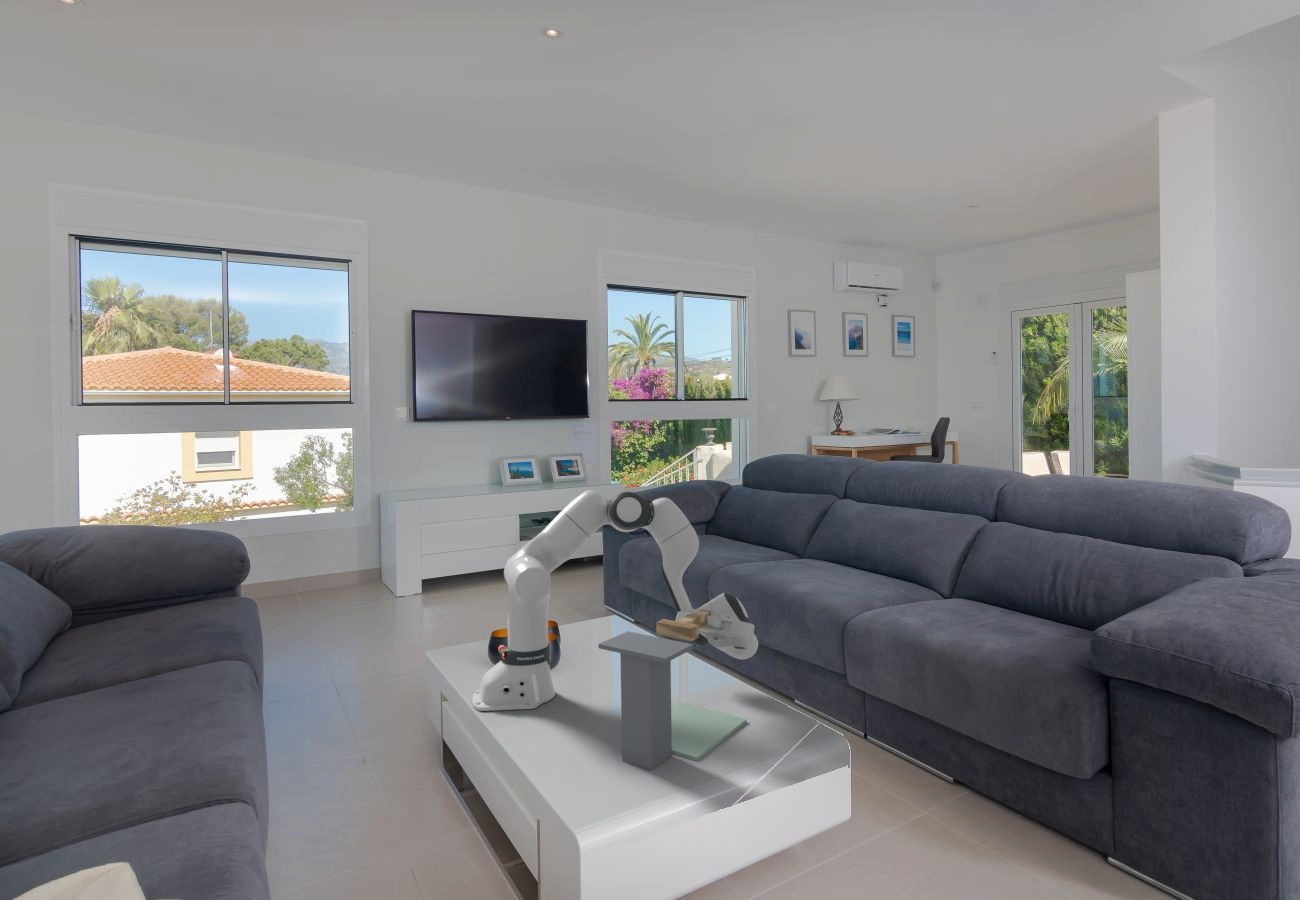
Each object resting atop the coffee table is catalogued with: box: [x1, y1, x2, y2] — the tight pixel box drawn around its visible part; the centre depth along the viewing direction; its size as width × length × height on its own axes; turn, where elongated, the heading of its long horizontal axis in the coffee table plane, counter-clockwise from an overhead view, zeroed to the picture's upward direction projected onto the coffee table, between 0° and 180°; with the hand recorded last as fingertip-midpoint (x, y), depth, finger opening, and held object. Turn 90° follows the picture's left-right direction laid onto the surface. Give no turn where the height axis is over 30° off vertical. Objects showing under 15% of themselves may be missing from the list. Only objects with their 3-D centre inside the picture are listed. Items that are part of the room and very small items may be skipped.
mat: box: [671, 701, 748, 762], centre depth 172 cm, size 24×20×1 cm
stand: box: [598, 631, 694, 771], centre depth 158 cm, size 11×18×26 cm, turn 55°
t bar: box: [655, 609, 711, 642], centre depth 173 cm, size 15×10×3 cm, turn 145°
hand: (699, 617), depth 176 cm, fingers closed on t bar, 3 cm apart
